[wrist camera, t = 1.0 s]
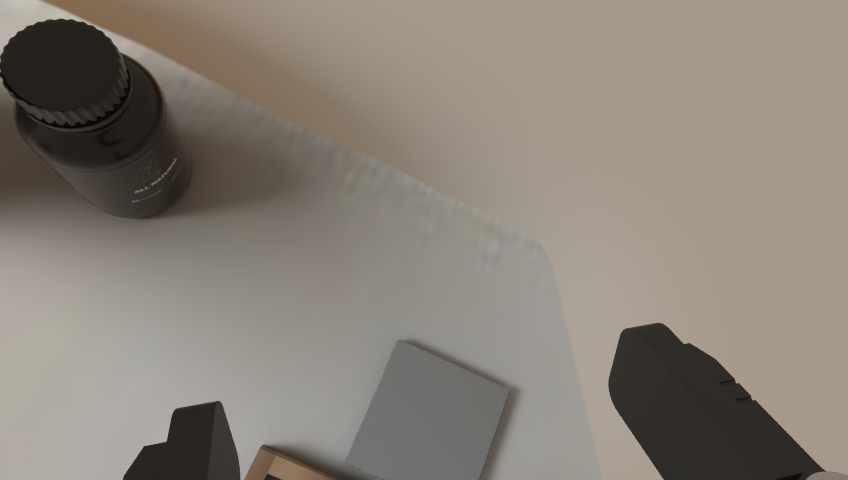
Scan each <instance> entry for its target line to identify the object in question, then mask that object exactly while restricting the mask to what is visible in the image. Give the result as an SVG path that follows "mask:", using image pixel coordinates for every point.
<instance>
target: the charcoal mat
mask: <svg viewBox="0 0 848 480" xmlns="http://www.w3.org/2000/svg"><path fill="white" fill-rule="evenodd" d="M509 391H510V390H508V389H506V388H504V387H502V386H500V385H498V384H495V383H493V382H491V381H489V380H487V379H485V378H482V377H480V376H478V375H476V374H474V373H472V372H469V371H467V370H465V369H463V368H461V367H459V366H456V365H454V364H452V363H450V362H448V361H446V360H443V359H441V358H439V357H437V356H435V355H433V354H430V353H428V352H426V351H424V350H422V349H420V348H417V347H415V346H413V345H411V344H409V343H407V342H404V341H402V340H398V341H397V343H396V346H395V348H394V350H393V353H392V355H391V357H390V359H389V362H388V364H387V366H386V369H385V371H384V373H383V376H382V378H381V380H380V383H379V385H378V387H377V389H376V392H375V394H374V396H373V399H372V401H371V403H370V406H369V408H368V410H367V413H366V415H365V417H364V419H363V422H362V424H361V426H360V429H359V431H358V433H357V436H356V438H355V440H354V443H353V445H352V447H351V449H350V452H349V454H348V456H347V459H346V461H345V462H346V463H347V464H349V465H351V466H353V467H356V468H358V469H360V470H362V471H365V472H367V473H369V474H372V475H374V476H376V477H379V478H381V479H383V480H479V477H480V474H481V471H482V469H483V466H484V463H485V460H486V457H487V454H488V451H489V448H490V446H491V443H492V440H493V437H494V434H495V431H496V428H497V425H498V423H499V420H500V417H501V414H502V411H503V408H504V405H505V402H506V400H507V397H508V394H509Z"/></svg>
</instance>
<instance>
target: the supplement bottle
mask: <svg viewBox="0 0 848 480" xmlns="http://www.w3.org/2000/svg"><path fill="white" fill-rule="evenodd" d="M0 58H1V62H0V69H1V72H0V76H1V78H2V79H3V85H4V86H5V88H6V89H7V90H8V91H9V93H10V95H11V96H12V97H13V98H14V103H13V112H14V119H15V123H16V126H17V128H18V130H19V133H20V134H21V136H22V138H23V139H24V140H25V142H26V143H27V144H28V145H29V146H30V148H31V149H32V150H33V151H34V152H35V153H36V154H37V155H38V156H40V157H41V158H42V159H43V160H44V161H45V162H46V163H47V164H48V165H49V166H50V167H51V168H53V169H54V170H55V171H56V172H57V173H58V174H59V175H60V176H61V177H62V178H63V179H64V180H66V181H67V182H68V183H69V184H70V185H71V186H72V187H73V188H74V189H75V190H76V191H78V192H79V193H80V194H81V195H82V196H83V197H84V198H85V199H86V200H88V201H89V202H90V203H91V204H92V205H94V206H95V207H97V208H98V209H100V210H102V211H104V212H106V213H108V214H111V215H115V216H119V217H126V218H139V217H145V216H150V215H153V214H156V213H158V212H161V211H163V210H165V209H166V208H168V207H170V206H171V205H172V204H174V203H175V202H176V201H177V200H178V199H179V198H180V197H181V195H182V194H183V193H184V191H185V189H186V188H187V186H188V183H189V180H190V177H191V171H192V163H191V157H190V153H189V151H188V148H187V146H186V143H185V141H184V139H183V136H182V134H181V132H180V130H179V127H178V125H177V123H176V121H175V118H174V116H173V114H172V112H171V109H170V107H169V105H168V103H167V101H166V98H165V96H164V94H163V92H162V90H161V88H160V86H159V84H158V82H157V81H156V79H155V78H154V76H153V75H152V74H151V73H150V72H149V71H148V70H147V69H146V68H145V67H144V66H143V65H142V64H141V63H139V62H138V61H136V60H135V59H133V58H131V57H129V56H128V55H125V54H123V53H121V52H119V50H118V48H117V47H116V46H115V45H114V44H113V42H112V40H111V39H110V38H109V37H107V36H105V34H104V33H103V32H102V31H100V30H97V29H96V28H95V27H94V26H91V25H87V24H86V23H84V22H77V21H75V20H73V19H71V20H65V19H57V20H51V19H49V20H46V21H44V22H37V23H35V24H34V25H30V26H27V27H26V28H25V29H24V30H22V31H19V32H17V34H16V35H15V36H14V37H12V38H11V39H10V40H9V43H8V44H7V45H6V46H4V52H3V53H2V54H1V56H0Z"/></svg>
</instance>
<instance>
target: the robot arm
mask: <svg viewBox="0 0 848 480" xmlns="http://www.w3.org/2000/svg"><path fill="white" fill-rule="evenodd" d="M609 392H610V396H611V399H612V402H613V404H614V406H615V408H616V410H617V411H618V413H619V414H620V416H621V417H622V419H623V420H624V422H625V423H626V425H627V426H628V428H629V429H630V430H631V432H632V433H633V435H634V436H635V438H636V439H637V441H638V442H639V444H640V445H641V447H642V448H643V450H644V451H645V453H646V454H647V455H648V457H649V458H650V460H651V461H652V463H653V464H654V466H655V467H656V469H657V470H658V472H659V473H660V475H661V476H662V478H663V479H664V480H848V476H847V475H845V474H841V473H837V472H826V471H825V470H824V469H822V468H821V467H820V466H819V465H818V464H817V463H816V462H815V461H814V460H813V459H812V458H811V457H810V456H809V455H808V454H807V453H806V452H805V451H804V450H803V449H802V448H801V447H800V446H799V445H798V444H797V443H796V442H795V441H794V439H793V438H792V437H791V436H789V434H788V433H787V432H786V431H785V430H784V429H783V428H782V427H781V426H780V425H779V424H778V423H777V422H776V421H775V420H774V419H773V418H772V417H771V416H770V415H769V414H768V413H767V412H766V411H765V410H764V409H763V408H762V407H761V406H760V405H759V404H758V402H757V401H756V400H754V401H753V400H752V399H751V395H750V394H749V393H748V392H747V391H746V390H745V389H744V388H743V387H742V386H741V385H740V384H739V383H738V384H736V383H735V379H734V378H733V377H732V376H731V375H730V374H729V373H728V372H727V371H726V370H725V369H724V367H723V366H722V365H721V364H719V362H718V361H717V360H716V359H714V358H713V357H711V356H710V355H708V354H706V353H705V352H703V351H701V350H700V349H698V348H697V347H695V346H693V345H692V344H690V343H688V344H683V343H682V342H681V341H680V340H679V339H678V338H677V337H676V336H675V334H674V333H673V332H672V331H671V330H670V329H669V328H668V327H667V326H665V325H664V324H661V323H655V324H649V325H644V326H638V327H632V328H627V329H624V330H623V331H622V333H621V335H620V338H619V342H618V346H617V349H616V353H615V357H614V361H613V365H612V369H611V372H610V376H609ZM123 480H240V467H239V460H238V454H237V451H236V447H235V444H234V441H233V438H232V434H231V431H230V428H229V425H228V421H227V418H226V415H225V412H224V408H223V405H222V403H221V402H220V401H216V402H210V403H204V404H199V405H193V406H188V407H182V408H177V409H175V410H174V412H173V415H172V418H171V423H170V428H169V433H168V438H167V442H164V443H159V444H154V445H149V446H144V447H143V449H142V450H141V452H140V453H139V455H138V456H137V458H136V459H135V460H134V462H133V463H132V465H131V466H130V468H129V469H128V471H127V472H126V474H125V475H124V478H123Z"/></svg>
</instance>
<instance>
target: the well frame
mask: <svg viewBox="0 0 848 480" xmlns="http://www.w3.org/2000/svg"><path fill="white" fill-rule="evenodd" d="M267 473H268V474H270V475H272V476H275V477H277V478H279V479H282V480H342V479H340V478H338V477H335V476H333V475H331V474H328V473H326V472H324V471H321V470H319V469H317V468H315V467H312V466H310V465H308V464H305V463H303V462H301V461H298V460H296V459H294V458H291V457H289V456H287V455H284V454H282V453H280V452H278V451H275V450H273V449H271V448H268V447H266V446H264V445H262V446H261V447H260V449H259V451H258V453H257V455H256V457H255V459H254V461H253V463H252V465H251V467H250V469H249V471H248V473H247V475H246V477H245V479H244V480H265V478H266V475H267Z"/></svg>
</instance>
